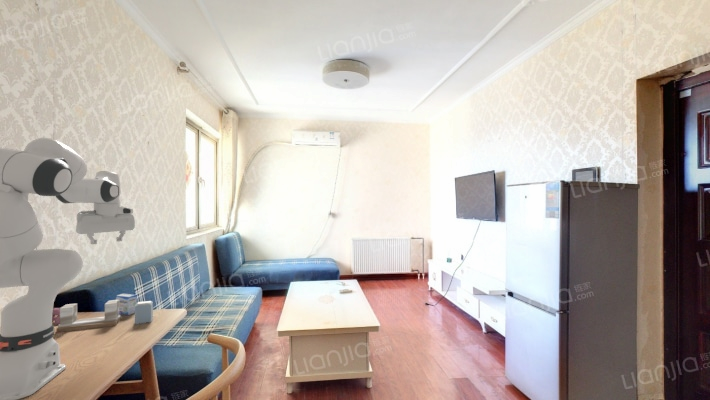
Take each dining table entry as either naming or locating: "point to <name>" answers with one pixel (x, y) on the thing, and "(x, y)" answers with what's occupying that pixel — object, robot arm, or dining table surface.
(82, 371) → the dining table surface
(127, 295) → the medicine box
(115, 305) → the rail mount
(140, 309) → the module block
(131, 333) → the dining table surface
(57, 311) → the video game controller
